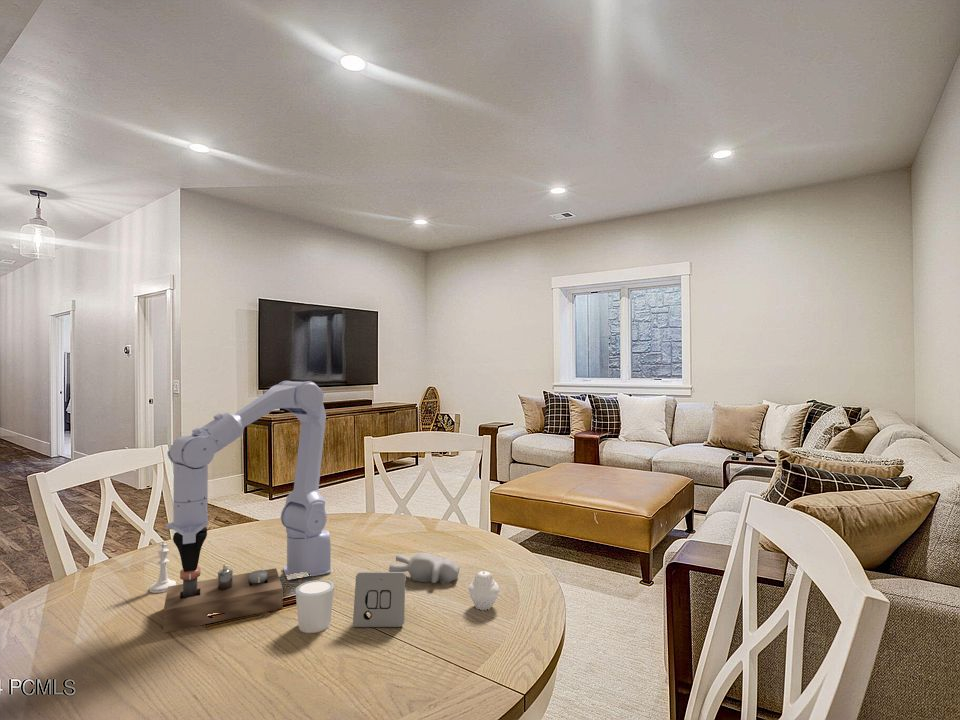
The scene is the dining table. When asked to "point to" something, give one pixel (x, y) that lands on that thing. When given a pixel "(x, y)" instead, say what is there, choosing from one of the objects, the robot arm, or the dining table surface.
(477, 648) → the dining table surface
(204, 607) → the mount
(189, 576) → the knob red
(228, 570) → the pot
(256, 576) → the knob grey
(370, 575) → the electrical switch
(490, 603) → the white owl figurine
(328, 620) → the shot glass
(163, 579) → the chess piece
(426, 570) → the bunny figurine
